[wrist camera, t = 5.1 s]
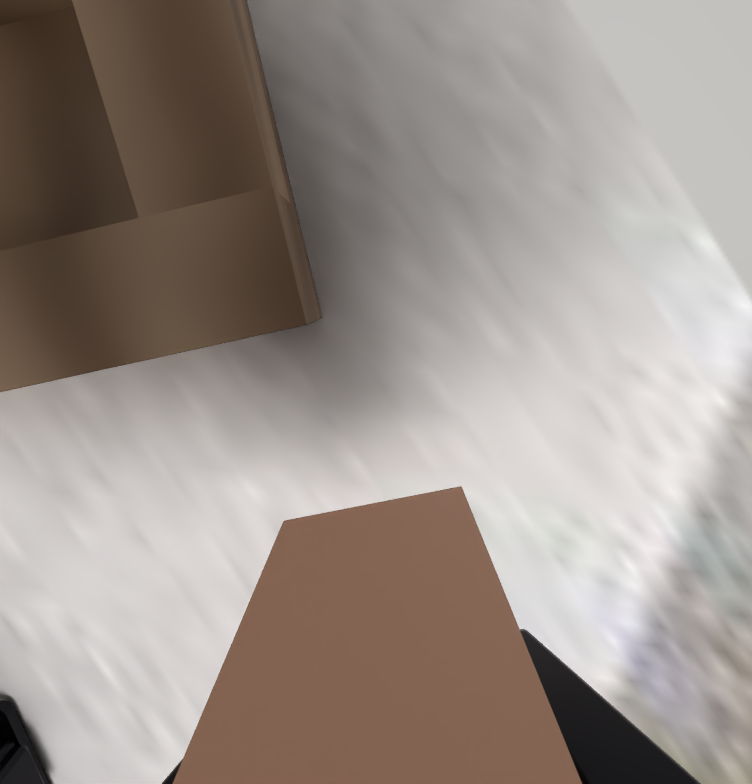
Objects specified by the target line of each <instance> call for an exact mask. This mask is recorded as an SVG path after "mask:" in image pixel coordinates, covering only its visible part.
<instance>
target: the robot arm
mask: <svg viewBox="0 0 752 784" xmlns="http://www.w3.org/2000/svg"><path fill="white" fill-rule="evenodd" d="M520 632H521V635H522V637H523V639H524V642H525V644H526V647H527V649H528V652H529V654H530V657H531V659H532V662H533V664H534V667H535V669H536V671H537V674H538V676H539V679H540V681H541V684H542V686H543V689H544V691H545V694H546V696H547V699H548V701H549V703H550V706H551V708H552V711H553V713H554V716H555V718H556V721H557V723H558V726H559V728H560V731H561V733H562V735H563V738H564V740H565V743H566V745H567V748H568V750H569V753H570V755H571V758H572V760H573V763H574V765H575V767H576V770H577V772H578V775H579V777H580V780H581V782H582V784H701V783H699V782H698V781H697V780H696V779H695V778H694V777H693V776H692V775H690V774H689V773H688V772H687V771H686V770H685V769H684V768H682V767H681V766H680V765H679V764H678V763H677V762H676V761H675V760H673V759H672V758H671V757H670V756H669V755H668V754H667V753H665V752H664V751H663V750H662V749H661V748H660V747H659V746H657V745H656V744H655V743H654V742H653V741H652V740H651V739H650V738H648V737H647V736H646V735H645V734H644V733H643V732H642V731H640V730H639V729H638V728H637V727H636V726H635V725H634V724H633V723H631V722H630V721H629V720H628V719H627V718H626V717H625V716H623V715H622V714H621V713H620V712H619V711H618V710H617V709H615V708H614V707H613V706H612V705H611V704H610V703H609V702H608V701H606V700H605V699H604V698H603V697H602V696H601V695H600V694H598V693H597V692H596V691H595V690H594V689H593V688H592V687H591V686H589V685H588V684H587V683H586V682H585V681H584V680H583V679H581V678H580V677H579V676H578V675H577V674H576V673H575V672H573V671H572V670H571V669H570V668H569V667H568V666H567V665H566V664H564V663H563V662H562V661H561V660H560V659H559V658H558V657H556V656H555V655H554V654H553V653H552V652H551V651H550V650H549V649H547V648H546V647H545V646H544V645H543V644H542V643H541V642H539V641H538V640H537V639H536V638H535V637H534V636H533V635H531V634H530V633H529V632H528V631H527V630H524V629H520ZM182 760H183V759H182ZM182 760H181V761H180V763H179V764H178V765H177V766H176V767H175V769H174V770H173V771H172V772H171V773H170V774H169V776H168V777H167V778H166V779H165V780H164V781H163V783H162V784H173V782H174V779H175V777H176V774H177V772H178V770H179V767H180V765H181V763H182ZM0 784H49V783H48V781H47V779H46V777H45V774H44V772H43V770H42V768H41V766H40V763H39V761H38V759H37V757H36V755H35V752H34V750H33V748H32V746H31V744H30V742H29V739H28V737H27V735H26V733H25V731H24V728H23V726H22V724H21V722H20V720H19V718H18V715H17V713H16V711H15V709H14V707H13V706H12V704H10V703H9V702H7V701H4V700H0Z"/></svg>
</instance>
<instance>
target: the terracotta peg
mask: <svg viewBox="0 0 752 784" xmlns="http://www.w3.org/2000/svg"><path fill="white" fill-rule="evenodd" d="M173 784H582V782H581V780H580V777H579V775H578V772H577V770H576V767H575V765H574V763H573V760H572V758H571V755H570V753H569V750H568V748H567V745H566V743H565V740H564V738H563V735H562V733H561V731H560V728H559V726H558V723H557V721H556V718H555V716H554V713H553V711H552V708H551V706H550V703H549V701H548V699H547V696H546V694H545V691H544V689H543V686H542V684H541V681H540V679H539V676H538V674H537V671H536V669H535V667H534V664H533V662H532V659H531V657H530V654H529V652H528V649H527V647H526V644H525V642H524V639H523V637H522V635H521V632H520V630H519V627H518V625H517V622H516V620H515V617H514V615H513V612H512V610H511V607H510V605H509V603H508V600H507V598H506V595H505V593H504V590H503V588H502V585H501V583H500V580H499V578H498V575H497V573H496V571H495V568H494V566H493V563H492V561H491V558H490V556H489V553H488V551H487V548H486V546H485V543H484V541H483V538H482V536H481V534H480V531H479V529H478V526H477V524H476V521H475V519H474V516H473V514H472V511H471V509H470V506H469V504H468V502H467V499H466V497H465V494H464V492H463V489H462V487H461V486H460V487H455V488H450V489H445V490H440V491H435V492H430V493H424V494H419V495H414V496H409V497H404V498H399V499H394V500H388V501H383V502H378V503H373V504H368V505H363V506H358V507H353V508H347V509H342V510H337V511H332V512H327V513H322V514H317V515H311V516H306V517H301V518H296V519H291V520H286V521H283V524H282V526H281V529H280V531H279V533H278V536H277V538H276V540H275V543H274V545H273V547H272V550H271V552H270V555H269V557H268V559H267V562H266V564H265V566H264V569H263V571H262V573H261V576H260V578H259V581H258V583H257V585H256V588H255V590H254V592H253V595H252V597H251V599H250V602H249V604H248V607H247V609H246V611H245V614H244V616H243V618H242V621H241V623H240V625H239V628H238V630H237V633H236V635H235V637H234V640H233V642H232V644H231V647H230V649H229V651H228V654H227V656H226V659H225V661H224V663H223V666H222V668H221V670H220V673H219V675H218V678H217V680H216V682H215V685H214V687H213V689H212V692H211V694H210V696H209V699H208V701H207V704H206V706H205V708H204V711H203V713H202V715H201V718H200V720H199V722H198V725H197V727H196V730H195V732H194V734H193V737H192V739H191V741H190V744H189V746H188V748H187V751H186V753H185V756H184V758H183V760H182V763H181V765H180V767H179V770H178V772H177V774H176V777H175V779H174V782H173Z"/></svg>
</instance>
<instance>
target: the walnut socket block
mask: <svg viewBox="0 0 752 784" xmlns="http://www.w3.org/2000/svg"><path fill="white" fill-rule="evenodd" d="M320 318H322V315H321V311H320V307H319V303H318V298H317V294H316V290H315V286H314V282H313V277H312V273H311V269H310V265H309V261H308V256H307V252H306V248H305V244H304V240H303V236H302V231H301V227H300V223H299V219H298V215H297V210H296V206H295V202H294V198H293V194H292V189H291V185H290V181H289V177H288V173H287V169H286V164H285V160H284V156H283V152H282V148H281V143H280V139H279V135H278V131H277V127H276V122H275V118H274V114H273V110H272V106H271V102H270V97H269V93H268V89H267V85H266V81H265V76H264V72H263V68H262V64H261V60H260V55H259V51H258V47H257V43H256V39H255V34H254V30H253V26H252V22H251V18H250V14H249V9H248V5H247V1H246V0H0V392H3V391H8V390H12V389H17V388H21V387H26V386H30V385H35V384H40V383H44V382H49V381H53V380H58V379H62V378H67V377H71V376H76V375H80V374H85V373H90V372H94V371H99V370H103V369H108V368H112V367H117V366H121V365H126V364H131V363H135V362H140V361H144V360H149V359H153V358H158V357H162V356H167V355H172V354H176V353H181V352H185V351H190V350H194V349H199V348H203V347H208V346H212V345H217V344H222V343H226V342H231V341H235V340H240V339H244V338H249V337H253V336H258V335H263V334H267V333H272V332H276V331H281V330H285V329H290V328H294V327H299V326H304V325H307V324H309V323H312V322H314V321H316V320H318V319H320Z"/></svg>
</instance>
